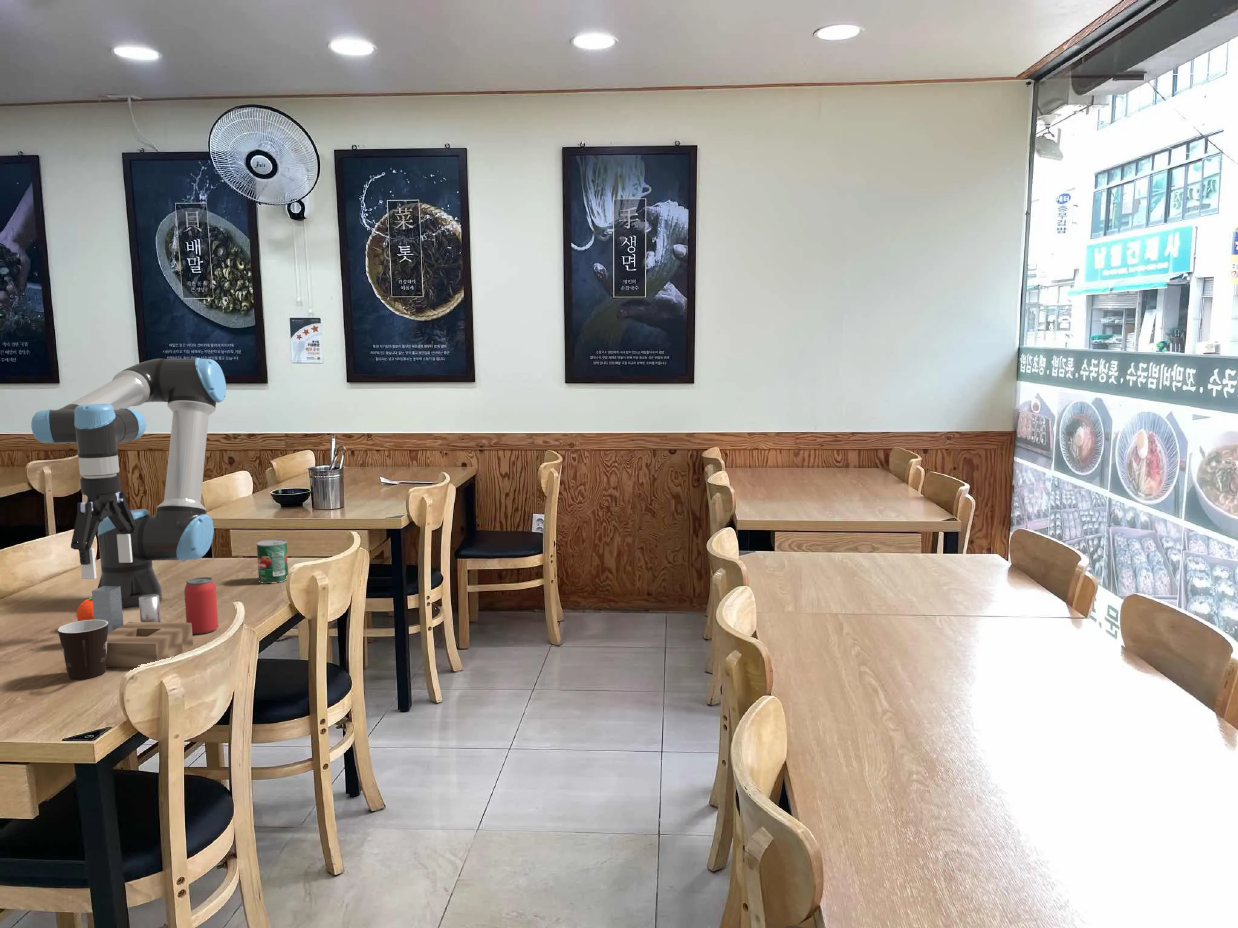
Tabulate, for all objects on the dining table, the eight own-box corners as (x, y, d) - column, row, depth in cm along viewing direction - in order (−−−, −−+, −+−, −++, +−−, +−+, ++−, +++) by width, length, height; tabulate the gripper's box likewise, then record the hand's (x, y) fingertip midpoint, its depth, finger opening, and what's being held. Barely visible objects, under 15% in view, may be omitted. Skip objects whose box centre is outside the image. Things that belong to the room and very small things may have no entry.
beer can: (198, 636, 202) (194, 585, 201) (181, 631, 206) (177, 581, 204) (224, 629, 208) (221, 578, 206) (207, 624, 211) (204, 575, 210)
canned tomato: (252, 582, 249) (250, 544, 247) (271, 576, 256) (269, 538, 255) (276, 584, 246) (274, 545, 245) (294, 578, 254) (292, 540, 253)
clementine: (80, 623, 212) (78, 594, 211) (113, 620, 215) (111, 591, 214) (75, 633, 205) (72, 603, 204) (109, 629, 208) (107, 599, 207)
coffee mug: (75, 667, 183) (71, 620, 181) (119, 666, 183) (116, 618, 182) (44, 688, 171) (40, 638, 170) (91, 687, 172) (87, 637, 171)
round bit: (148, 636, 202) (145, 593, 201) (165, 637, 202) (162, 594, 201) (138, 642, 198) (134, 598, 197) (155, 642, 198) (152, 599, 197)
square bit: (107, 637, 202) (103, 586, 200) (124, 637, 201) (120, 586, 200) (96, 643, 198) (91, 590, 196) (113, 643, 197) (109, 591, 196)
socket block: (131, 643, 197) (129, 622, 197) (193, 644, 197) (191, 622, 196) (91, 666, 183) (89, 642, 183) (157, 667, 183) (155, 643, 182)
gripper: (116, 466, 207) (124, 555, 210) (44, 485, 182) (54, 585, 185) (148, 466, 207) (155, 556, 210) (81, 485, 182) (90, 585, 185)
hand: (108, 570), depth 197 cm, fingers open, 13 cm apart
